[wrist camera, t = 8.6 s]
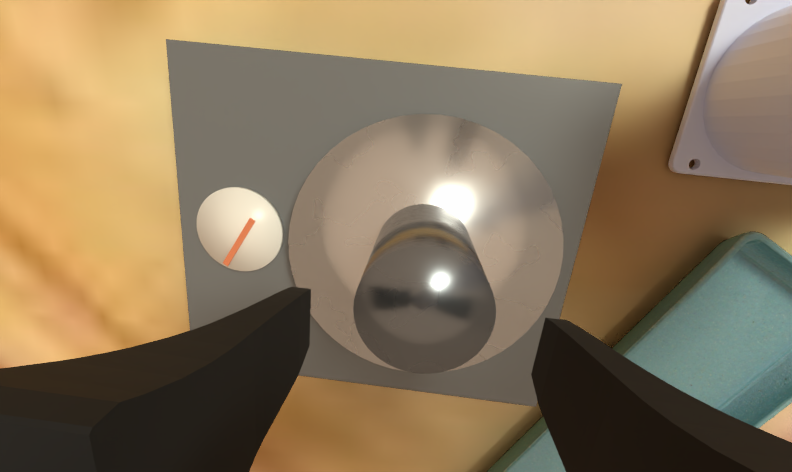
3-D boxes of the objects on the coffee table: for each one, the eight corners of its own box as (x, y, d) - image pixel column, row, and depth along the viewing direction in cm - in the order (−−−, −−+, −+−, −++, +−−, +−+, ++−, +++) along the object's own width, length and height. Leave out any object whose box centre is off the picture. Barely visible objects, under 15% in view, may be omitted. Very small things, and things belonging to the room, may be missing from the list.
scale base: (600, 88, 17) (627, 82, 15) (526, 382, 22) (538, 412, 20) (192, 48, 18) (159, 37, 16) (211, 341, 23) (188, 365, 21)
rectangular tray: (721, 216, 19) (763, 229, 17) (843, 307, 20) (899, 331, 18) (433, 502, 27) (434, 539, 24) (532, 558, 28) (543, 599, 25)
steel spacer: (475, 205, 16) (503, 249, 11) (467, 296, 18) (488, 377, 12) (376, 202, 17) (352, 243, 11) (375, 291, 18) (354, 369, 12)
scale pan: (588, 130, 16) (596, 130, 15) (526, 377, 20) (530, 387, 19) (295, 100, 16) (289, 99, 16) (292, 347, 20) (287, 355, 20)
